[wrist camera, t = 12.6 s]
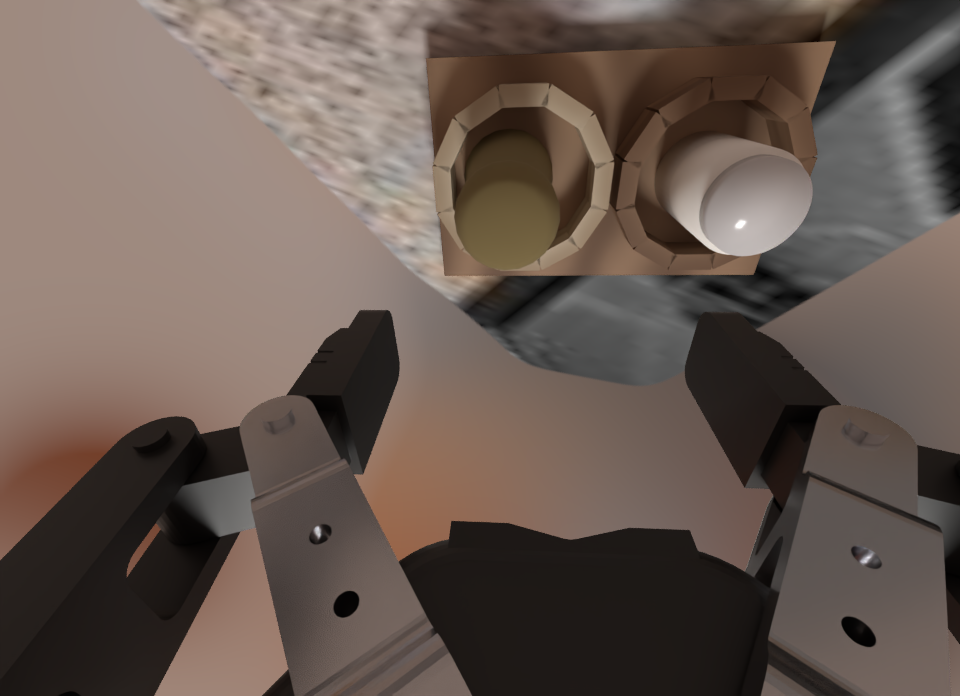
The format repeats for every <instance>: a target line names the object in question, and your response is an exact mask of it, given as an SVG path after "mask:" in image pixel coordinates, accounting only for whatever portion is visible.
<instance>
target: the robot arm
mask: <svg viewBox="0 0 960 696" xmlns="http://www.w3.org/2000/svg"><path fill="white" fill-rule="evenodd" d="M398 377H399V356H398V350H397V344H396V337H395V331H394V326H393V320H392V316H391V313H390V311H388V310H361V311H359V312H358V314H357V315H356V317H355V319H354V320H353V322H352V323H351V325H350V326H349V328H340V329H339V330H338V331H336V332H335V333H333V334H332V335H331V336H329V337H328V338H326V340H325V341H324V342H323V344H322V345H321V346H320V348H319V349H318V353H316V354H315V355H314V357H313V358H312V359H311V363H309V364H308V365H307V367H306V368H305V369H304V371H303V372H302V374H301V375H300V377H299V378H298V379H297V381H296V382H295V384H294V385H293V387H292V388H291V389H290V391H289V392H288V394H287V395H286V396H281V397H277V398H273V399H271V400H268V401H266V402H264V403H262V404H260V405H258V406H257V407H255V408H254V409H252V410H251V411H250V412H249V413H248V414H247V415H246V416H245V417H244V419H243V420H242V422H241V424H240V426H238V427H233V428H229V429H224V430H219V431H214V432H209V433H204V434H200V433H199V431H198V429H197V428H196V426H195V424H194V422H193V421H192V420H191V419H188V418H186V417H177V416H176V417H167V418H162V419H158V420H155V421H152V422H149V423H147V424H144V425H142V426H140V427H138V428H136V429H135V430H133V431H131V432H130V433H128V434H127V435H125V436H124V437H123V438H121V439H120V440H119V441H118V442H117V443H116V444H115V445H114V446H113V447H112V448H111V449H110V450H109V451H108V452H107V453H106V454H105V455H104V456H103V457H102V458H101V459H100V460H99V461H98V462H97V464H95V465H94V466H93V467H92V468H91V469H90V470H89V471H88V472H87V473H86V474H85V475H84V476H83V477H82V478H81V479H80V481H78V482H77V484H75V485H74V487H72V489H71V490H70V491H69V492H68V493H67V494H66V495H65V496H64V497H63V498H62V499H61V500H60V501H59V502H58V503H57V504H56V505H55V506H54V507H53V508H52V509H51V510H50V511H49V512H48V513H47V514H46V515H45V516H44V517H43V518H42V519H41V520H40V521H39V522H38V523H37V524H36V525H35V526H34V527H33V528H32V529H31V530H30V531H29V532H28V533H27V534H26V535H25V536H24V537H23V538H22V539H21V540H20V541H19V542H18V543H17V544H16V545H15V546H14V547H13V548H12V549H11V550H10V551H9V553H7V554H6V555H5V556H4V557H3V558H2V559H1V560H0V696H154V695H155V693H156V691H157V689H158V687H159V685H160V683H161V681H162V680H163V678H164V676H165V674H166V672H167V670H168V668H169V666H170V664H171V662H172V661H173V659H174V657H175V655H176V653H177V651H178V649H179V647H180V645H181V643H182V642H183V640H184V638H185V636H186V634H187V632H188V630H189V628H190V626H191V624H192V622H193V621H194V619H195V617H196V615H197V613H198V611H199V609H200V607H201V605H202V603H203V602H204V600H205V598H206V596H207V594H208V592H209V590H210V588H211V586H212V585H213V583H214V580H215V579H216V577H217V575H218V573H219V571H220V569H221V567H222V565H223V564H224V562H225V560H226V558H227V556H228V554H229V552H230V550H231V548H232V546H233V545H234V543H235V541H236V539H237V537H238V535H239V533H240V531H244V530H247V529H252V528H256V530H257V535H258V539H259V543H260V548H261V551H262V556H263V561H264V565H265V569H266V574H267V578H268V582H269V586H270V591H271V595H272V599H273V604H274V608H275V613H276V617H277V621H278V626H279V630H280V634H281V638H282V642H283V647H284V651H285V656H286V660H287V665H288V668H289V669H288V670H287V671H286V672H285V673H284V674H283V675H282V676H281V677H280V678H279V679H278V680H277V681H276V682H275V683H274V684H273V685H272V686H271V687H270V688H269V689H268V690H267V691H266V692H265V693H264V694H263V695H262V696H951V679H950V660H949V642H948V641H949V640H948V629H949V630H950V632H951V633H952V634H953V636H954V637H955V638H956V640H957V641H958V642H959V644H960V454H955V453H950V452H946V451H942V450H937V449H932V448H928V447H923V446H918V445H917V444H916V442H915V440H914V439H913V438H912V436H911V435H910V434H909V433H908V432H907V431H906V430H904V429H903V428H902V427H900V426H899V425H898V424H896V423H894V422H893V421H891V420H889V419H887V418H885V417H883V416H881V415H879V414H877V413H874V412H871V411H869V410H865V409H861V408H857V407H853V406H846V405H841V404H840V403H839V402H838V401H837V400H836V399H835V398H834V397H833V396H832V395H831V394H830V393H829V392H828V391H827V390H826V389H825V388H824V387H823V386H822V385H821V384H820V383H819V382H818V381H817V380H816V379H815V378H814V377H813V376H812V375H811V374H810V373H809V372H808V371H807V370H804V367H803V366H802V365H801V364H800V363H799V362H798V361H797V360H796V359H793V356H792V355H791V354H790V353H789V352H788V351H787V350H786V349H785V348H784V347H783V346H782V345H781V344H780V343H779V342H777V341H775V340H774V339H772V338H770V337H768V336H767V335H765V334H763V333H761V332H757V331H756V330H755V329H754V328H753V327H752V325H751V324H750V323H749V322H748V321H747V320H746V319H745V318H744V317H743V316H742V315H741V314H740V313H738V312H704V313H703V314H702V315H701V316H700V318H699V320H698V323H697V327H696V330H695V334H694V337H693V340H692V344H691V347H690V350H689V354H688V357H687V360H686V365H685V378H686V383H687V386H688V388H689V390H690V391H691V393H692V395H693V397H694V398H695V400H696V402H697V404H698V406H699V407H700V409H701V411H702V413H703V415H704V416H705V418H706V420H707V422H708V423H709V425H710V427H711V429H712V431H713V432H714V434H715V436H716V438H717V439H718V441H719V443H720V445H721V447H722V448H723V450H724V452H725V454H726V455H727V457H728V459H729V461H730V463H731V464H732V466H733V468H734V470H735V471H736V473H737V475H738V477H739V478H740V480H741V482H742V484H743V486H744V487H745V488H764V489H770V490H771V492H772V494H773V497H772V498H771V500H770V502H769V504H768V506H767V508H766V511H765V515H764V518H763V521H762V523H761V526H760V530H759V533H758V535H757V538H756V542H755V544H754V547H753V550H752V553H751V556H750V559H749V562H748V565H747V568H746V570H745V572H744V571H743V570H741V569H739V568H737V567H736V566H734V565H732V564H730V563H728V562H725V561H723V560H721V559H719V558H717V557H714V556H711V555H708V554H706V553H703V552H699V551H698V550H697V548H696V545H695V543H694V540H693V537H692V535H691V532H690V531H689V530H671V529H669V530H668V529H644V528H627V529H622V530H617V531H613V532H608V533H603V534H598V535H594V536H589V537H584V538H580V539H574V540H568V539H563V538H559V537H556V536H552V535H549V534H545V533H541V532H538V531H534V530H530V529H527V528H524V527H520V526H516V525H513V524H509V523H490V522H464V521H452V522H451V529H450V536H449V539H448V540H444V541H440V542H437V543H434V544H431V545H428V546H425V547H423V548H421V549H419V550H417V551H415V552H413V553H411V554H410V555H408V556H406V557H405V558H403V559H402V560H400V561H399V562H398V560H397V558H396V556H395V554H394V552H393V550H392V548H391V546H390V544H389V542H388V541H387V538H386V536H385V534H384V532H383V531H382V529H381V527H380V525H379V523H378V521H377V519H376V517H375V515H374V513H373V511H372V509H371V507H370V505H369V503H368V501H367V499H366V498H365V496H364V494H363V492H362V490H361V488H360V486H359V484H358V482H357V480H356V478H355V476H354V474H363V473H364V470H365V468H366V465H367V463H368V460H369V457H370V455H371V451H372V449H373V446H374V444H375V441H376V438H377V435H378V433H379V430H380V427H381V425H382V422H383V419H384V416H385V414H386V411H387V409H388V406H389V403H390V400H391V398H392V395H393V392H394V389H395V387H396V384H397V381H398ZM155 523H156V524H157V525H158V526H159V527H160V529H161V530H160V531H159V533H158V534H157V536H156V537H155V538H154V540H153V541H152V543H151V544H150V546H149V547H148V548H147V550H146V551H145V553H144V554H143V555H142V557H141V558H140V560H139V561H138V562H137V564H136V565H135V567H134V568H133V570H132V571H131V572H130V574H129V575H128V577H127V576H126V575H127V568H128V564H129V562H130V559H131V557H132V555H133V554H134V552H135V551H136V549H137V548H138V547H139V545H140V544H141V542H142V541H143V540H144V538H145V537H146V536H147V534H148V533H149V531H150V530H151V529H152V527H153V526H154V525H155Z"/></svg>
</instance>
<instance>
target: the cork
mask: <svg viewBox="0 0 960 696" xmlns="http://www.w3.org/2000/svg"><path fill="white" fill-rule="evenodd" d="M464 179H465V184H464V186H463V188H462V190H461V192H460V194H459V196H458V198H457V200H456V207H455V214H454V220H455V225H456V231H457V235H458V237H459V239H460V241H461V243H462V244H463V246H464V248H465V250H466V251H467V252H468V253H469V254H470V255H471V256H472V257H473V258H474V259H475V260H476V261H478V262H480V263H482V264H483V265H485V266H487V267H489V268H494V269H499V270H513V269H520V268H522V267H525V266H527V265H530V264H532V263H534V262H535V261H536V260H537V259H539V258H540V257H541V256H542V255H543V254H545V253H546V251H547V250H548V248H549V247H550V245H551V244H552V242H553V241H554V239H555V237H556V234H557V230H558V227H559V223H560V204H559V201H558V199H557V196H556V193H555V190H554V188H553V186H552V181H553V171H552V163H551V160H550V157H549V155H548V152H547V150H546V149H545V148H544V146H543V145H542V144H541V143H540V141H539V140H538V139H537V138H535V137H533V136H532V135H530V134H529V133H527V132H525V131H521V130H516V129H511V128H510V129H504V130H497V131H495V132H493V133H491V134H489V135H487V136H485V137H483V138H482V139H481V140H480V141H479V142H478V144H477V145H476V146H475V147H474V148H473V149H472V151H471V153H470V155H469V158H468V160H467V162H466V167H465V174H464Z"/></svg>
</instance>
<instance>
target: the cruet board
mask: <svg viewBox="0 0 960 696" xmlns="http://www.w3.org/2000/svg"><path fill="white" fill-rule="evenodd" d="M835 43H836V41H831V42H807V43H783V44H759V45H735V46H711V47H687V48H663V49H639V50H615V51H591V52H567V53H543V54H519V55H495V56H471V57H447V58H426V62H427V74H428V86H429V98H430V109H431V121H432V133H433V145H434V156H435V160H434V162H433V164H434V165H433V178H434V189H435V200H436V212H439V213H438V214H437V215H438V216H439V218H440V227H441V239H442V251H443V263H444V274H445V276H514V275H754V272H755V269H756V266H757V263H758V261H759V258H760V255H761V253H760V254H756V255H751V256H734V255H726V254H721V253H718V252H715V251H713V250H711V249H709V248H708V247H706V246H705V245H704V244H703V243H702V242H700V241H699V240H698V239H697V238H696V237H695V236H694V235H692V234H691V233H690V232H689V231H688V230H687V229H686V228H685V227H683V226H682V225H681V224H680V223H679V222H678V221H677V220H676V219H674V218H673V217H672V216H671V215H670V214H669V213H668V212H667V211H665V210H664V209H663V208H662V207H661V205H660V204H659V202H658V200H657V198H656V195H655V190H654V181H655V175H656V171H657V169H658V166H659V164H660V162H661V160H662V159H663V157H664V155H665V154H666V153H667V152H668V150H669V149H670V148H671V147H672V146H673V145H675V144H676V143H677V142H678V141H680V140H681V139H683V138H684V137H686V136H688V135H691V134H693V133H696V132H700V131H717V132H721V133H725V134H728V135H732V136H736V137H739V138H743V139H746V140H750V141H754V142H757V143H761V144H764V145H768V146H772V147H775V148H779V149H782V150H785V151H787V152H789V153H791V154H793V155H794V156H795V157H796V158H797V159H798V160H799V161H800V162H801V164H802V165H803V167H804V169H805V170H806V171H807V173H808V175H809V177H810V175H811V173H812V170H813V167H814V165H815V162H816V160H817V158H816V157H814V156H816V155H818V154H817V149H816V143H815V138H814V132H813V127H812V121H811V116H810V113H811V111H812V108H813V105H814V102H815V99H816V96H817V94H818V91H819V88H820V85H821V82H822V79H823V77H824V74H825V71H826V68H827V65H828V62H829V60H830V57H831V54H832V51H833V48H834V46H835ZM510 128H511V129H516V130H521V131H525V132H527V133H529V134H530V135H532V136H533V137H535V138H537V139H538V140H539V141H540V143H541V144H542V145H543V146H544V148H545V149H546V150H547V152H548V155H549V157H550V160H551V163H552V171H553V181H552V186H553V188H554V190H555V193H556V196H557V199H558V201H559V204H560V223H559V227H558V230H557V234H556V237H555V239H554V241H553V242H552V244H551V245H550V247H549V248H548V250H547V251H546V253H545V254H543V255H542V256H541V257H540V258H539V259H537V260H536V261H535V262H534V263H532V264H530V265H527V266H525V267H522V268H520V269H513V270H499V269H494V268H489V267H487V266H485V265H483V264H482V263H480V262H478V261H476V260H475V259H474V258H473V257H472V256H471V255H470V254H469V253H468V252H467V251H466V250H465V248H464V246H463V244H462V243H461V241H460V239H459V237H458V235H457V231H456V225H455V220H454V214H455V207H456V200H457V198H458V196H459V194H460V192H461V190H462V188H463V186H464V184H465V179H464V174H465V167H466V162H467V160H468V158H469V155H470V153H471V151H472V149H473V148H474V147H475V146H476V145H477V144H478V142H479V141H480V140H481V139H482V138H483V137H485V136H487V135H489V134H491V133H493V132H495V131H497V130H504V129H510Z"/></svg>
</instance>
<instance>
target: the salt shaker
mask: <svg viewBox="0 0 960 696" xmlns="http://www.w3.org/2000/svg"><path fill="white" fill-rule="evenodd" d="M654 190H655V195H656V198H657V200H658V202H659V204H660V205H661V207H662V208H663V209H664V210H665V211H667V212H668V213H669V214H670V215H671V216H672V217H673V218H674V219H676V220H677V221H678V222H679V223H680V224H681V225H682V226H683V227H685V228H686V229H687V230H688V231H689V232H690V233H691V234H692V235H694V236H695V237H696V238H697V239H698V240H699V241H700V242H702V243H703V244H704V245H705V246H706V247H708V248H709V249H711V250H713V251H715V252H718V253H721V254H726V255H734V256H751V255H756V254H760V253H763V252H766V251H768V250H770V249H772V248H774V247H776V246H777V245H779V244H781V243H782V242H783V241H785V240H786V239H787V238H788V237H789V236H791V235H792V234H793V233H794V232H795V230H796V229H797V228H798V227H799V226H800V224H801V223H802V222H803V220H804V218H805V217H806V215H807V212H808V210H809V208H810V205H811V201H812V192H813V189H812V182H811V179H810V177H809V175H808V173H807V171H806V170H805V169H804V167H803V165H802V164H801V162H800V161H799V160H798V159H797V158H796V157H795V156H794V155H793V154H791V153H789V152H787V151H785V150H782V149H779V148H775V147H772V146H768V145H764V144H761V143H757V142H754V141H750V140H746V139H743V138H739V137H736V136H732V135H728V134H725V133H721V132H717V131H700V132H696V133H693V134H691V135H688V136H686V137H684V138H683V139H681V140H680V141H678V142H677V143H676V144H675V145H673V146H672V147H671V148H670V149H669V150H668V152H667V153H666V154H665V155H664V157H663V159H662V160H661V162H660V164H659V166H658V169H657V171H656V175H655V181H654Z"/></svg>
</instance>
